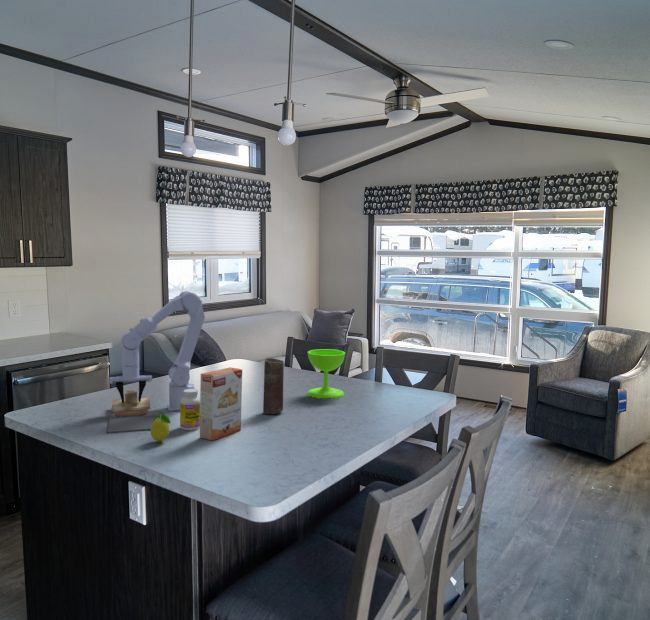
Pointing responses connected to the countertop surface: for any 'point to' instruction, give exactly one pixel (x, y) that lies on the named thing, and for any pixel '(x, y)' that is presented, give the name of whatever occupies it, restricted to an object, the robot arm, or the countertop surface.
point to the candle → (273, 386)
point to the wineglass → (326, 370)
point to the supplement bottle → (190, 410)
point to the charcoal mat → (130, 423)
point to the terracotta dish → (131, 413)
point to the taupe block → (131, 402)
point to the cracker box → (220, 403)
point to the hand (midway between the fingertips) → (131, 401)
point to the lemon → (160, 427)
